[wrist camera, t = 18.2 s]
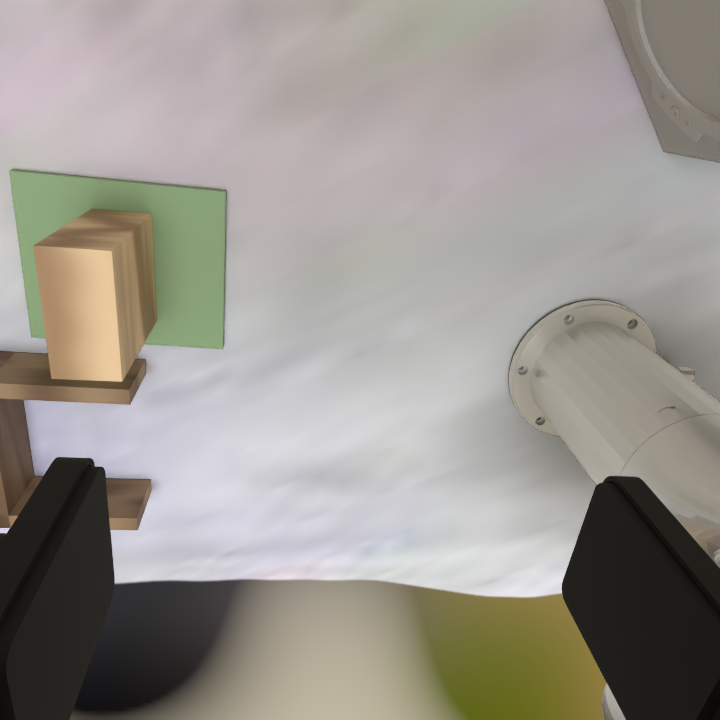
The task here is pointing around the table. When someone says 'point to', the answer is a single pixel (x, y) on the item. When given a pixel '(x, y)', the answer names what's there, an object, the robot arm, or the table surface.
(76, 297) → the block
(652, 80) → the portable television
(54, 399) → the slot rack
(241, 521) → the table surface
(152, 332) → the green mat
